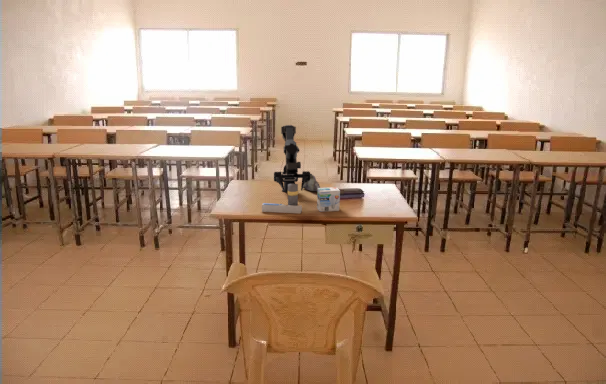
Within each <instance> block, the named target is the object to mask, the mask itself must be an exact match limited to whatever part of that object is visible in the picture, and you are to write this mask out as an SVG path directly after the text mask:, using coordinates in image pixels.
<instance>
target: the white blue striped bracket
mask: <svg viewBox="0 0 606 384" xmlns="http://www.w3.org/2000/svg"><path fill="white" fill-rule="evenodd" d="M302 206H303V205H302V204H299V205H298V206H293V205H288V204H283V203H265V202H263V203H262V204H261V212H263V213H264V212H265V213H282V214H283V213H284V214H302V209H303V208H302Z"/></svg>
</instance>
